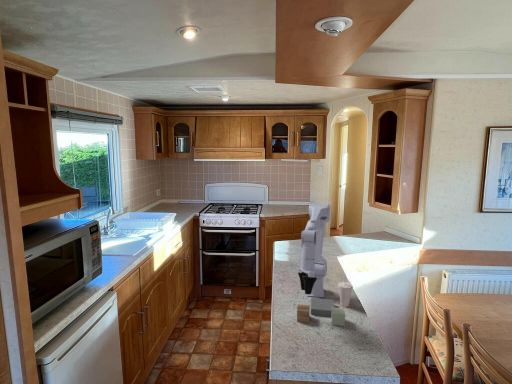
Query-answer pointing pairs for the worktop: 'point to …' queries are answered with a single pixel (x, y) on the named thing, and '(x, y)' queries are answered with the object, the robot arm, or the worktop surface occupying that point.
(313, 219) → the robot arm
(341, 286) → the smoothie
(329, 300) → the charcoal slab
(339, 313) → the sage block
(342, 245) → the worktop surface
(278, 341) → the worktop surface
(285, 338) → the worktop surface
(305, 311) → the walnut cube
